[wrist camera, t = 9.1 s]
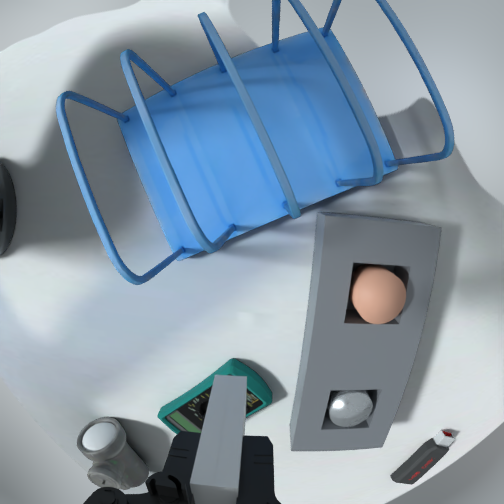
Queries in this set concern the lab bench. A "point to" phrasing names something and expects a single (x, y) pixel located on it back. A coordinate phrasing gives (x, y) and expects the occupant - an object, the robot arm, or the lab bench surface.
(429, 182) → the lab bench surface
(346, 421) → the steel plunger
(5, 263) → the lab bench surface
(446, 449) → the usb drive
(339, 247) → the block
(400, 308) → the peach rounded dome part
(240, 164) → the file sorter
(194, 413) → the digital multimeter
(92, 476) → the pipe fitting
